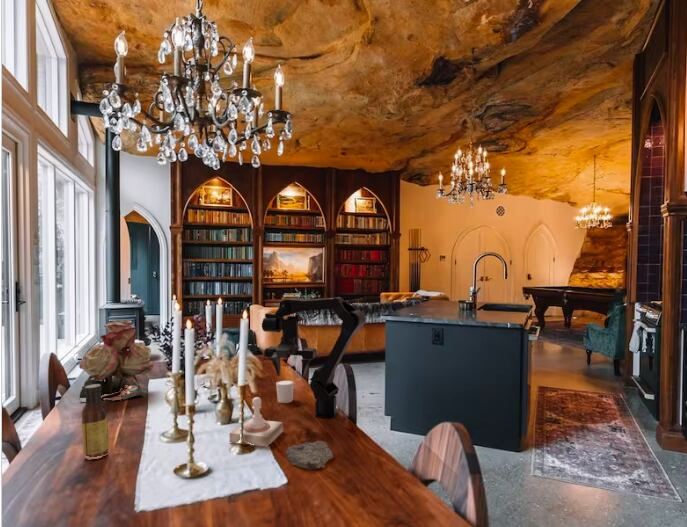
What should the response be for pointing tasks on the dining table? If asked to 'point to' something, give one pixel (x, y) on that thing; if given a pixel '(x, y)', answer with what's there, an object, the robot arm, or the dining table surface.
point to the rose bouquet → (117, 361)
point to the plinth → (258, 433)
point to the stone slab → (309, 455)
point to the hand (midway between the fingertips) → (290, 376)
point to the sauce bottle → (94, 423)
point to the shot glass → (285, 391)
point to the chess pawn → (256, 415)
